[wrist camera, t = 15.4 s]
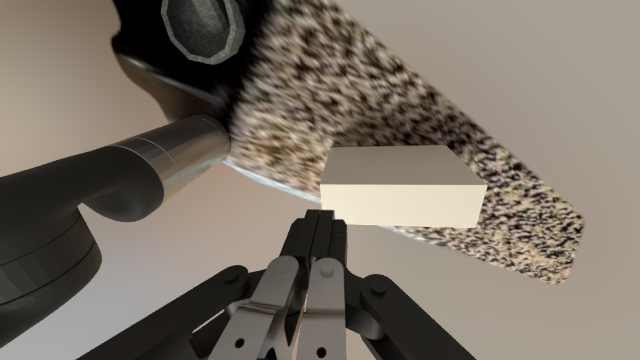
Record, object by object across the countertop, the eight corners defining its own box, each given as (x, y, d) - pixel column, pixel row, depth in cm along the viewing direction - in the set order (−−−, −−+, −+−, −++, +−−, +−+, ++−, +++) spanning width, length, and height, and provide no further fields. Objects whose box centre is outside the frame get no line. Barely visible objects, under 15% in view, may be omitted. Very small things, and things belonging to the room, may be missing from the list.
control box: (439, 177, 41) (475, 228, 29) (332, 177, 44) (323, 223, 32) (445, 145, 39) (487, 185, 26) (330, 147, 42) (320, 184, 29)
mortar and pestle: (243, 75, 38) (199, 81, 28) (189, 43, 37) (122, 37, 26) (269, -2, 33) (227, -31, 22) (207, -41, 32) (133, -91, 21)
